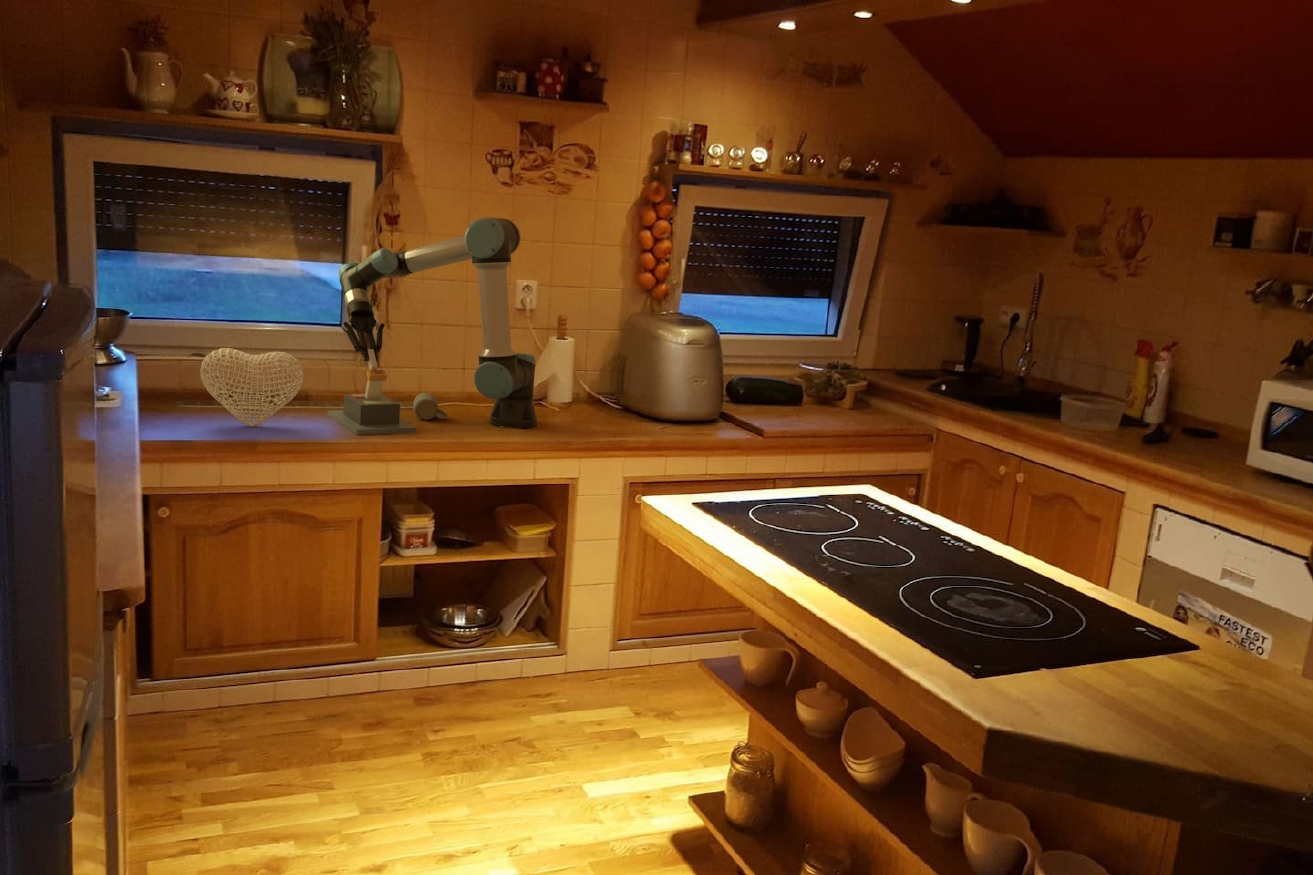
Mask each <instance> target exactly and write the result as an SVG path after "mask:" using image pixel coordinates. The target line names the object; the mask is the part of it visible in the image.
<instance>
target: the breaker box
mask: <svg viewBox="0 0 1313 875" xmlns="http://www.w3.org/2000/svg"><path fill="white" fill-rule="evenodd" d="M400 412H401V403H399V402H397V401H395V400H393V399H391V398H390V397H387V396H386V395H384V394H383V393H381V395H380V399H366V397H365V393H351V394H343V409H339V410H338V409H337V410H334V409H333V410H327V416H328V417H330V418H331V419H333V420H334V421H336V423H338V424H340V425H341V426H342V427H344V428H345V429H347V430H348V431H349V432H352V433H353V434H354V435H355V436H361V435H362V436H363V435H366V434H367V435H368V434H369V435H384V434H385V435H387V434H390V433H393V434H411V433H413V432H416V433H417V427H416V426H414V425H412V424H411V423H409V422H407V421H406V420H404V419H402V418H400V417H401V416H400V415H401V413H400ZM413 434H414V433H413Z"/></svg>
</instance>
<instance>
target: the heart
mask: <svg viewBox="0 0 1313 875" xmlns="http://www.w3.org/2000/svg"><path fill="white" fill-rule="evenodd" d="M231 357H232V358H231ZM236 358H237V359H236ZM218 359H220V360H219V361H217V360H218ZM280 360H281V361H280ZM246 361H247V362H246ZM264 363H265V364H264ZM269 363H270V364H269ZM217 364H218V365H217ZM259 364H260V365H259ZM246 365H247V366H246ZM283 366H284V367H283ZM269 367H270V369H269ZM274 367H275V368H274ZM219 370H220V371H219ZM303 371H304V370H303V367H302V365H301V363H300V361H299V360H298V359H297V358H296V357H294V356H293V354H290V353H287V352H285V351H284V352H283V351H270V352H264V353H260V354H249V353H247V352H244V351H242V350H238V349H234V348H232V347H231V348H230V347H228V348H227V347H221V348H219V349H214V350H212V351H211V352H210V353H208V354H207V355H206V356H205V357H204V358H203V360H202V361H201V364H200V369H199V372H200V373H199V374H200V379H201V382H202V384H203V386H204V388H205V389H206V391H207V392H208V394H210V395H211V396H212V397H213V398H214V399H215V400H216V402H218V403H219V404H220V405H222V406H223V407H224V408H225V409H226V410H227V411H228V412H230V413H231V415H232V416H234V417H235V419H237V420H238V421H240V422H241V423H242V424H244V425H246V426H247V427H252V428H253V427H258V426H259V425H262V424H263V423H264V422H265V421H267V420H268V419H269V418H271V417H272V416H274V414H276V413H278V411H279V410H281V409H282V408H283V407H285V406H286V405H287V404H288V403H289V402H291V401H292V400H293V399H294V397H296V396H297V394H298V392H299V391H300V390H301V387H302V385H303V382H304V372H303ZM230 372H231V373H230ZM235 373H236V374H235ZM217 376H218V378H216V377H217ZM289 376H290V377H291V378H290V377H289ZM244 377H245V378H244ZM285 377H286V379H285ZM228 379H229V380H228ZM272 379H273V381H272ZM233 380H234V382H233ZM238 381H240V383H239V382H238ZM243 382H245V383H243ZM226 383H228V385H227V384H226ZM248 383H250V384H248ZM280 383H281V384H280ZM285 383H286V384H285ZM231 385H233V387H231ZM236 386H238V388H236ZM259 386H260V387H259ZM273 386H274V387H273ZM220 388H221V389H220ZM242 388H244V389H242ZM248 388H249V389H248ZM227 389H228V391H227ZM276 390H277V391H276ZM265 391H266V392H265ZM271 391H272V392H271ZM242 393H243V394H242ZM285 393H286V394H285ZM230 395H231V396H232V397H230ZM277 395H278V396H277ZM273 396H274V397H273ZM270 401H272V403H270ZM274 404H276V405H274ZM237 405H238V406H237ZM256 410H257V411H256Z"/></svg>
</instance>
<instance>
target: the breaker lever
mask: <svg viewBox="0 0 1313 875" xmlns="http://www.w3.org/2000/svg"><path fill="white" fill-rule="evenodd" d="M365 374H366V375H365V377H366V378H367V383H366V387H365V391H364V392H365V393H364V394H365V397H366V399H380V395H381V394H382V393H381V392H382V390H383V385H384V384H383V383H384V382H385V381H387V379H388V378H387V376H388V374H387V372H386V371H385V369H376V370H369V369H366V373H365Z"/></svg>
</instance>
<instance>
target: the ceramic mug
mask: <svg viewBox="0 0 1313 875" xmlns="http://www.w3.org/2000/svg"><path fill="white" fill-rule="evenodd" d="M438 404H439V402H438V400H437V398H436V397H435V396H434V395H433V394H432V393H428V392H422V393H419V394H417V395H416V396H415V398H414V400H413V403H412V405H413V406H412V407H413V411H414V413H415V415H416V417H418V418H419V419H420V420H422V419H424V420H423V421H429V420H432V419H434V418H435V417H436V418H438V419H440V420H443V419H445V420H447V418H448V414H447V413H446V412H445V411H443V410H442V409H440V408H439V406H438Z"/></svg>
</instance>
